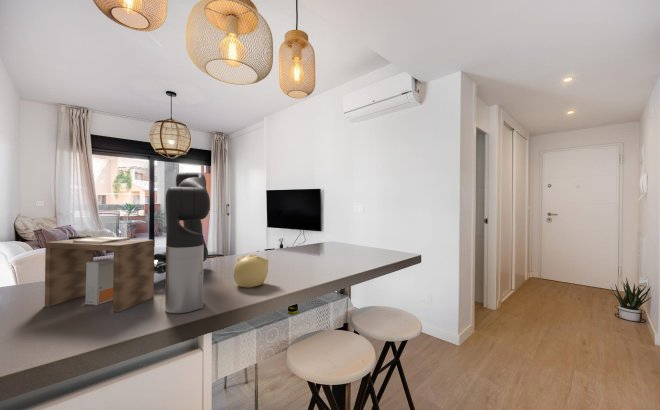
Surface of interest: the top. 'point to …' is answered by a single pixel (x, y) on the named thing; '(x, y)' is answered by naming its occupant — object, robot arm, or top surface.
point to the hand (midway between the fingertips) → (131, 271)
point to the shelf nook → (72, 257)
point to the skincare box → (99, 281)
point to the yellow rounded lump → (250, 271)
